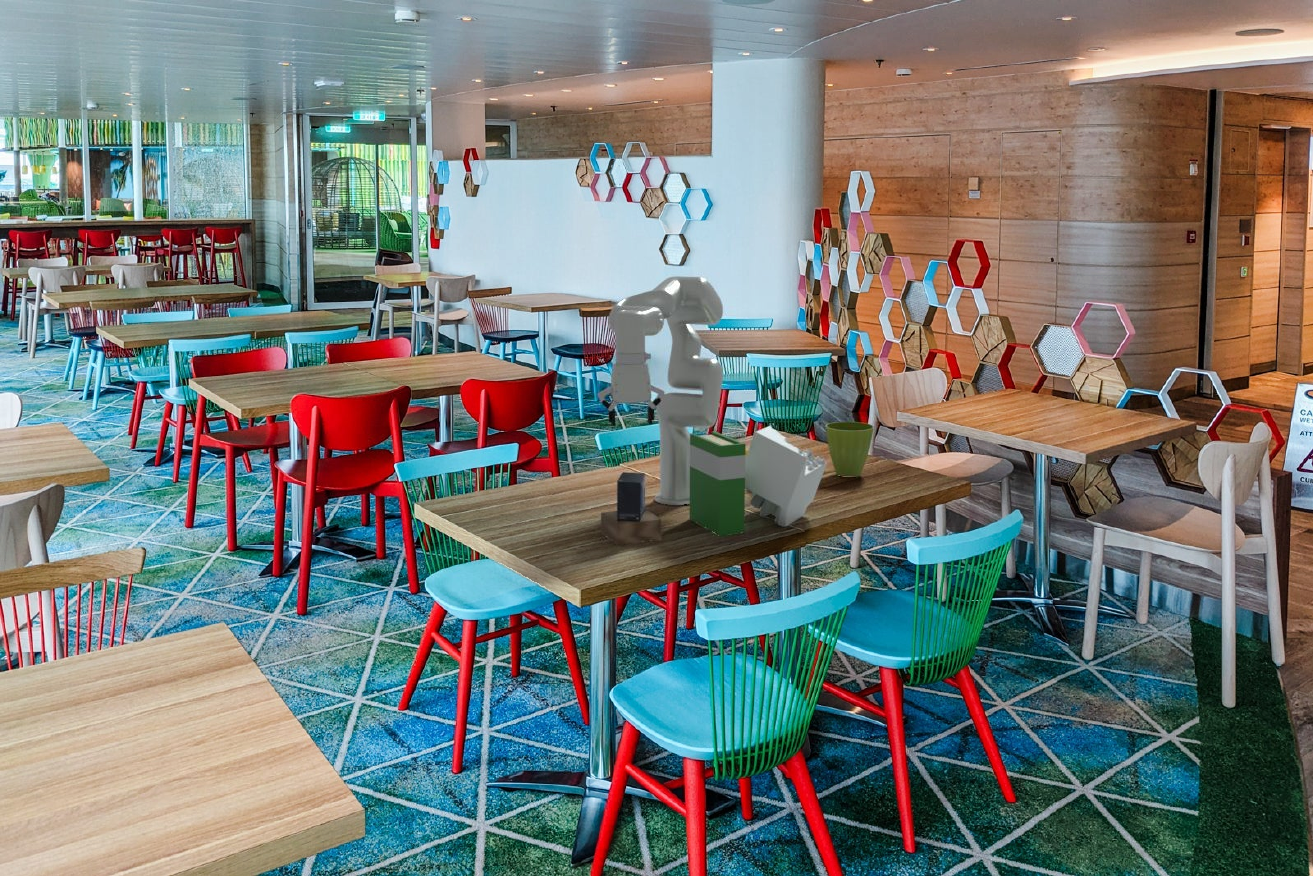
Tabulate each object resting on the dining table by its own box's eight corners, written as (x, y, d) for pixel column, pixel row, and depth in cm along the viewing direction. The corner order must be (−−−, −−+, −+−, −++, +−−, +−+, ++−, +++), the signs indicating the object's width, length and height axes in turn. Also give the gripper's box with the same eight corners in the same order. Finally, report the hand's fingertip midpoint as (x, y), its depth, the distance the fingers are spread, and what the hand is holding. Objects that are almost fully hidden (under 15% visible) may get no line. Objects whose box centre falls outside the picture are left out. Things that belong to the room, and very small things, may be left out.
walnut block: (643, 529, 309) (643, 508, 308) (661, 541, 298) (661, 519, 297) (601, 534, 304) (601, 512, 303) (617, 547, 293) (617, 524, 292)
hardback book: (689, 519, 317) (690, 433, 312) (713, 516, 320) (714, 431, 315) (719, 536, 301) (720, 446, 296) (744, 532, 304) (745, 443, 299)
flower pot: (823, 480, 361) (824, 429, 358) (824, 469, 375) (826, 420, 372) (872, 481, 358) (874, 431, 355) (871, 470, 373) (873, 422, 370)
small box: (641, 521, 294) (641, 481, 292) (616, 521, 295) (615, 481, 293) (646, 510, 305) (645, 472, 303) (621, 510, 305) (621, 471, 303)
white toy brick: (758, 496, 331) (787, 418, 321) (806, 521, 324) (837, 443, 315) (725, 513, 314) (754, 431, 304) (775, 540, 307) (806, 458, 298)
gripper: (661, 355, 300) (662, 419, 304) (595, 357, 298) (596, 422, 302) (666, 359, 293) (667, 425, 297) (598, 362, 290) (600, 428, 294)
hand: (631, 424), depth 299 cm, fingers open, 9 cm apart
